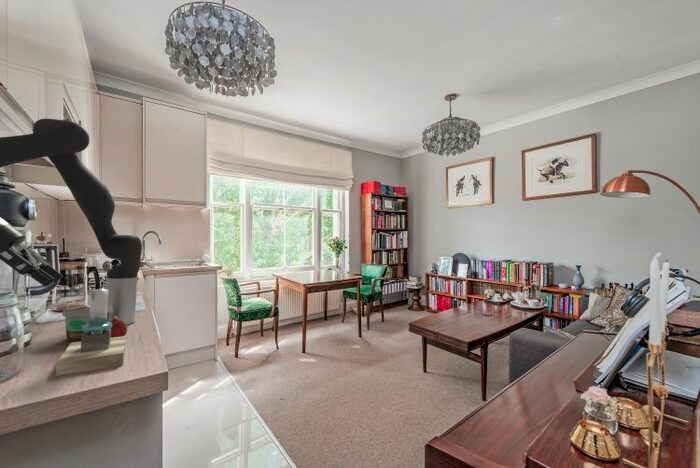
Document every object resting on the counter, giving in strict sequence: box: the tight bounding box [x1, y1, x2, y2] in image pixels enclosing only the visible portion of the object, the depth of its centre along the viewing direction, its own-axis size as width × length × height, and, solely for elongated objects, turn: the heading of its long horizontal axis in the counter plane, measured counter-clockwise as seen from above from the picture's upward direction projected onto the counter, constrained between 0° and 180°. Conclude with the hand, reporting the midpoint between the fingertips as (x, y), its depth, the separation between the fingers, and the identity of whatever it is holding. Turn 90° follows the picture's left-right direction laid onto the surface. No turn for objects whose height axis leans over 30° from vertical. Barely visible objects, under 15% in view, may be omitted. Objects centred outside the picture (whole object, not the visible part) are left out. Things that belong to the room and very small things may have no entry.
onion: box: [111, 316, 128, 338], centre depth 89 cm, size 6×6×8 cm
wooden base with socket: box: [55, 328, 127, 377], centre depth 76 cm, size 16×12×7 cm
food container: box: [61, 305, 113, 343], centre depth 91 cm, size 12×6×10 cm, turn 114°
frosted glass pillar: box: [82, 288, 112, 334], centre depth 77 cm, size 6×6×15 cm
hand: (55, 281), depth 72 cm, fingers open, 8 cm apart
